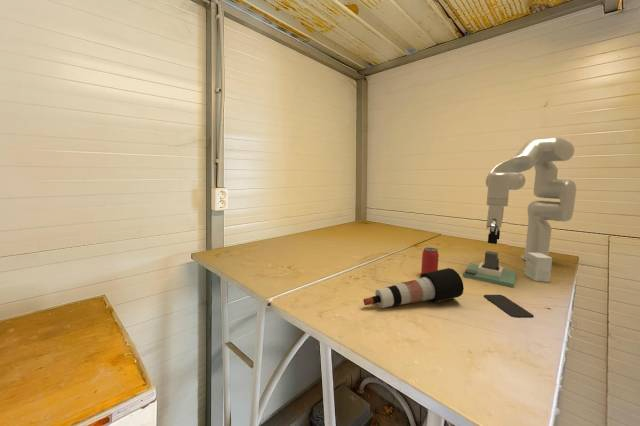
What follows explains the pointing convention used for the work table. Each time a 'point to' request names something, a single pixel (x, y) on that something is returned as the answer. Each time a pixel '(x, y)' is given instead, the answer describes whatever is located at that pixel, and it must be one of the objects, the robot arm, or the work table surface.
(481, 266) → the header socket
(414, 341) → the work table surface
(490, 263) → the plug
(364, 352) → the work table surface
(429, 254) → the beer can
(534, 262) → the small box
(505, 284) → the circuit board
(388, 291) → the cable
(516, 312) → the phone
